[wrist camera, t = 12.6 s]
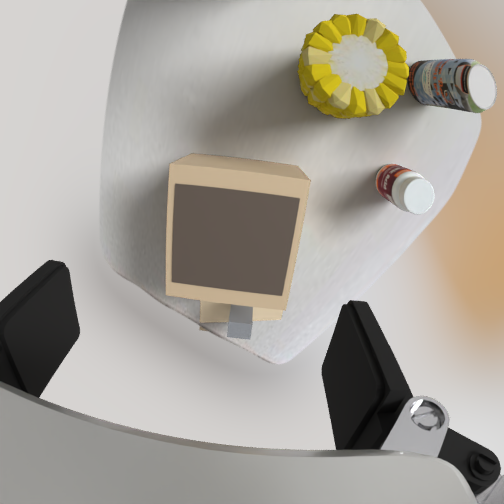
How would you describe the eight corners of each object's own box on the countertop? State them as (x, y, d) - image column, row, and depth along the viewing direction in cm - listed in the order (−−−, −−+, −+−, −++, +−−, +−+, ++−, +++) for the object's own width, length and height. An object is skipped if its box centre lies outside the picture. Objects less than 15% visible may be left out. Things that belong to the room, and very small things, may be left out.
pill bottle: (389, 155, 36) (419, 165, 28) (412, 179, 37) (444, 194, 29) (367, 183, 38) (392, 199, 30) (391, 205, 39) (419, 226, 31)
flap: (202, 264, 43) (194, 288, 37) (289, 274, 44) (293, 299, 38) (199, 328, 48) (192, 355, 42) (276, 336, 48) (278, 365, 42)
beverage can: (407, 54, 30) (457, 37, 19) (451, 79, 31) (506, 74, 20) (397, 95, 33) (447, 90, 22) (442, 118, 34) (497, 123, 22)
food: (367, 117, 36) (290, 109, 36) (375, 32, 29) (293, 21, 29) (412, 155, 24) (297, 142, 24) (428, 26, 17) (303, 1, 17)
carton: (191, 153, 37) (169, 163, 28) (297, 165, 37) (310, 180, 28) (184, 258, 42) (165, 296, 33) (280, 270, 43) (285, 311, 33)
